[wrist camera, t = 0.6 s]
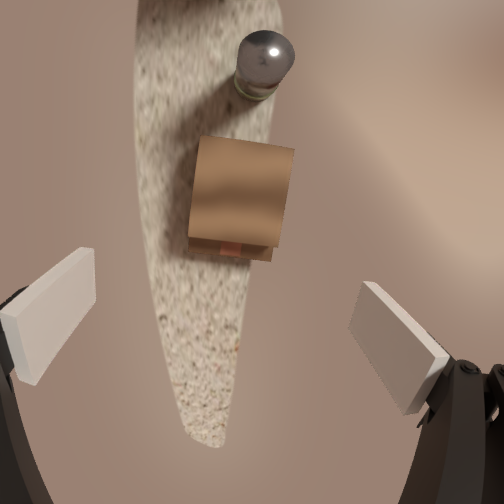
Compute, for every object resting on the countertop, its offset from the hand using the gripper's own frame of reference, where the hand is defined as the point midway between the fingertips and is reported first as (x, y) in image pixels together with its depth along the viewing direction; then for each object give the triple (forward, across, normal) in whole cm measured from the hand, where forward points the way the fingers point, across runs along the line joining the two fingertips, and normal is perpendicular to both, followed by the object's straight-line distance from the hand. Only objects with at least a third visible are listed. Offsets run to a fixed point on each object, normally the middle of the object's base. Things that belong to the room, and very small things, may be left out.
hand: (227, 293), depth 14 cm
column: (+25, +1, +16) cm, 30 cm away
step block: (+25, +1, +2) cm, 25 cm away
